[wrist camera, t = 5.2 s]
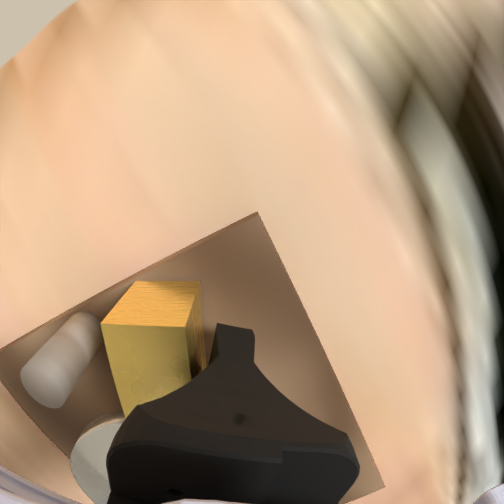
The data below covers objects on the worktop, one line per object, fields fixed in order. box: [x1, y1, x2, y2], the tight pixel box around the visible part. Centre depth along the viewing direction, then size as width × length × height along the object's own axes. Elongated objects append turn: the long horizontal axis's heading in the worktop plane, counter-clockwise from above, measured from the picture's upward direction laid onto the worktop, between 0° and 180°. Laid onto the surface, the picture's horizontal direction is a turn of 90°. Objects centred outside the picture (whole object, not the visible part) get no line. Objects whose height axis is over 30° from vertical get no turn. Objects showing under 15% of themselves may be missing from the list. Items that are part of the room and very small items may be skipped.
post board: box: [0, 212, 385, 504], centre depth 13 cm, size 17×20×5 cm
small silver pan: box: [70, 281, 207, 504], centre depth 12 cm, size 16×12×4 cm
